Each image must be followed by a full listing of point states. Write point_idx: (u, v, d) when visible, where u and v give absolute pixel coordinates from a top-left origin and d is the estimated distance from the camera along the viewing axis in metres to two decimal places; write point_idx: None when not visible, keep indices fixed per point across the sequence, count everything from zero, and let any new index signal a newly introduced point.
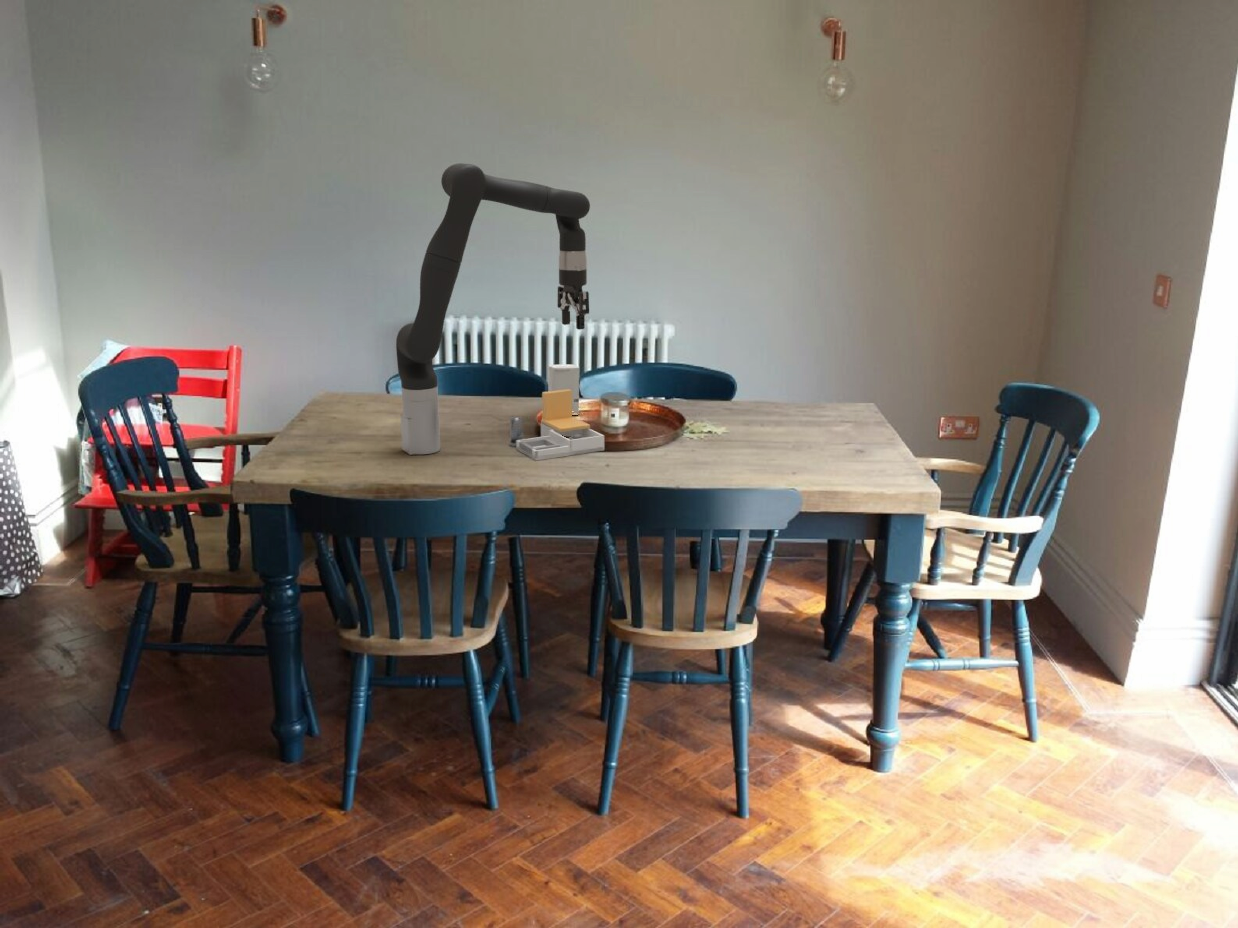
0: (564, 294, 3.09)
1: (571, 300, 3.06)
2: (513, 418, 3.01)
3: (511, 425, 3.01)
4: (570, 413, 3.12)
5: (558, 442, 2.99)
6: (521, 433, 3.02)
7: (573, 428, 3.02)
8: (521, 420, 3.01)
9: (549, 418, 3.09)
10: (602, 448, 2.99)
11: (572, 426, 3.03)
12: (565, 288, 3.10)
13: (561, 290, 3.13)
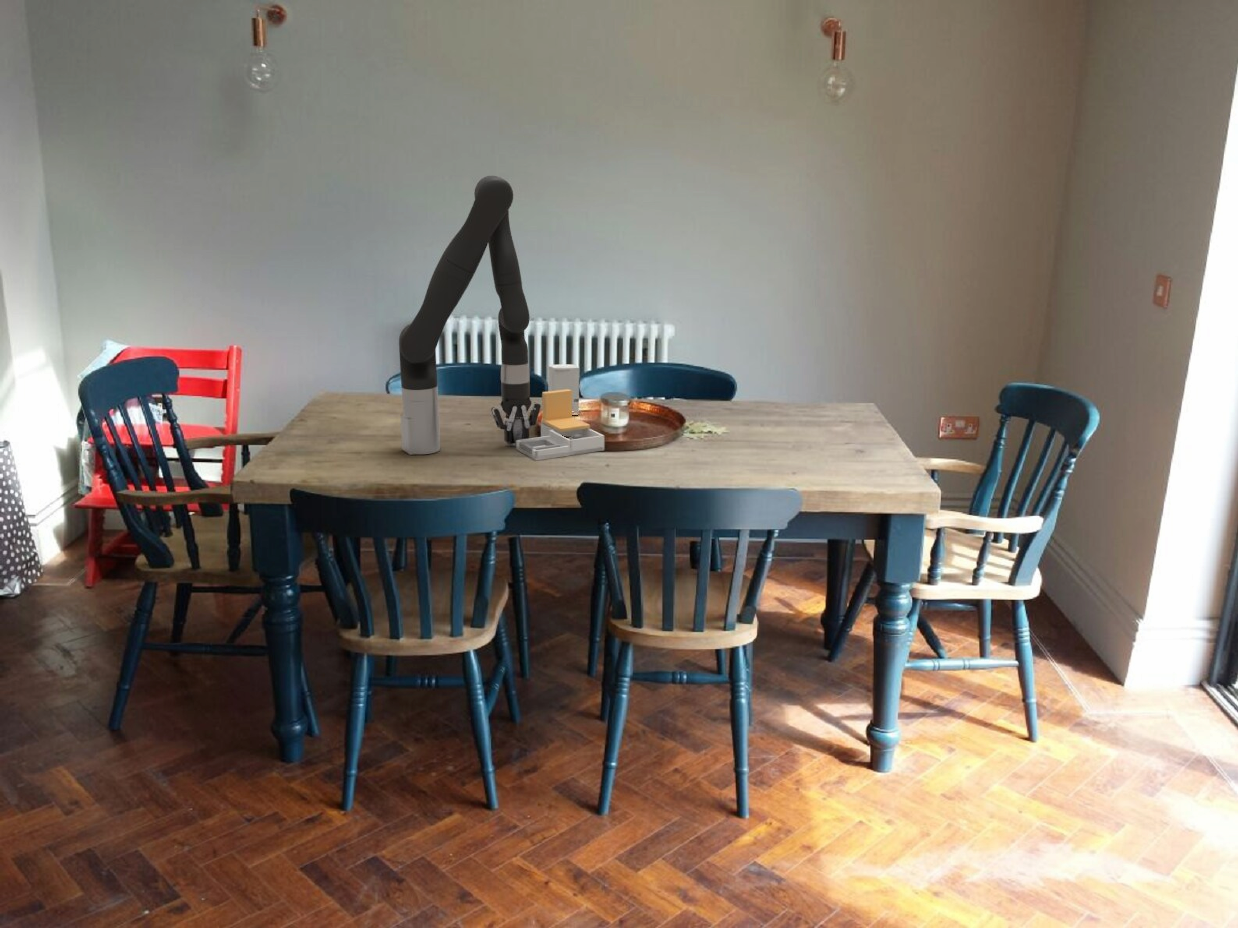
0: (514, 408, 2.99)
1: (525, 412, 3.01)
2: None
3: None
4: (570, 413, 3.12)
5: (558, 442, 2.99)
6: (521, 433, 3.02)
7: (573, 428, 3.02)
8: (521, 420, 3.01)
9: (549, 418, 3.09)
10: (602, 448, 2.99)
11: (572, 426, 3.03)
12: (508, 402, 2.98)
13: (498, 411, 2.98)
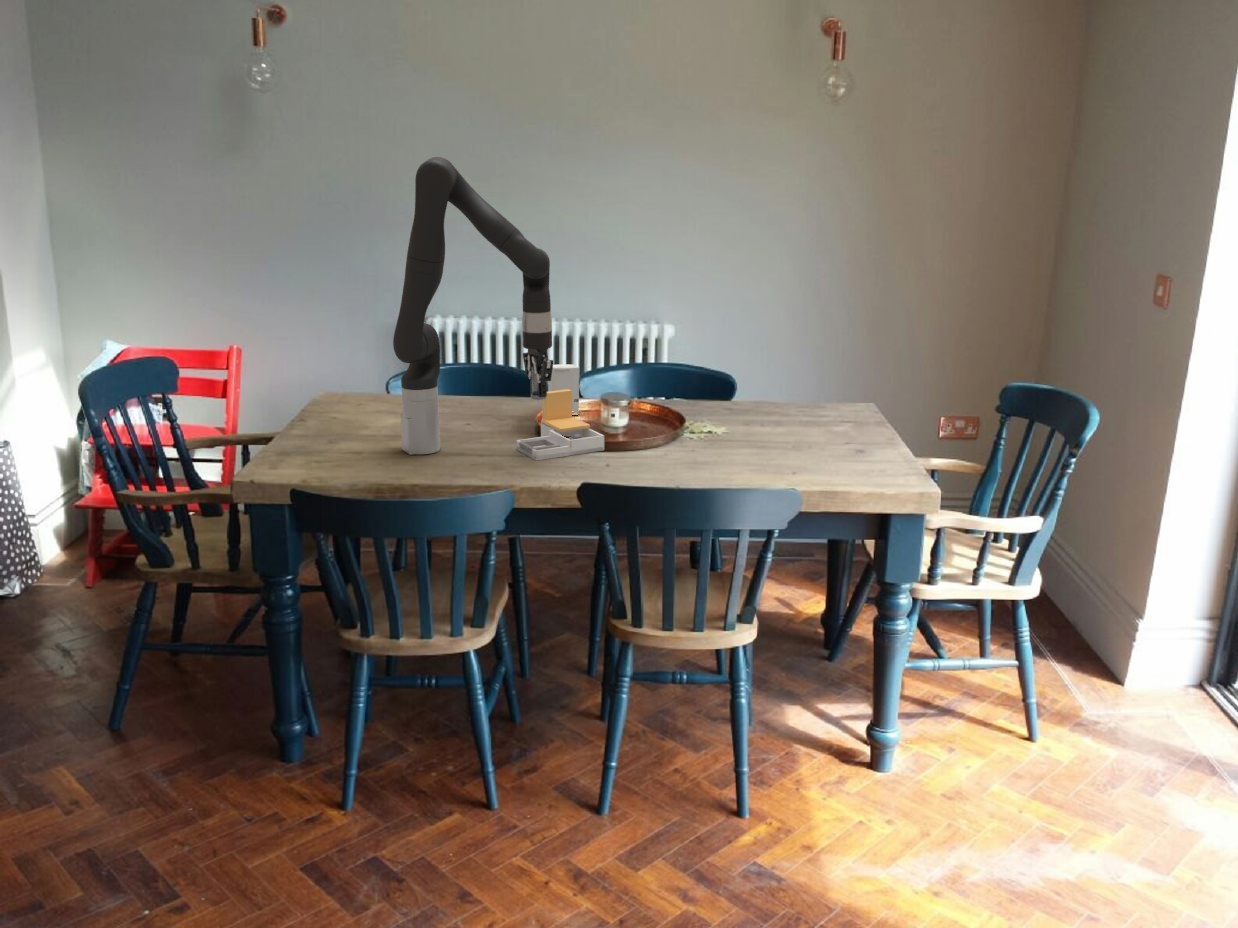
0: None
1: None
2: (540, 369, 2.89)
3: None
4: (570, 413, 3.12)
5: (558, 442, 2.99)
6: None
7: (573, 428, 3.02)
8: None
9: (549, 418, 3.09)
10: (602, 448, 2.99)
11: (572, 426, 3.03)
12: None
13: None
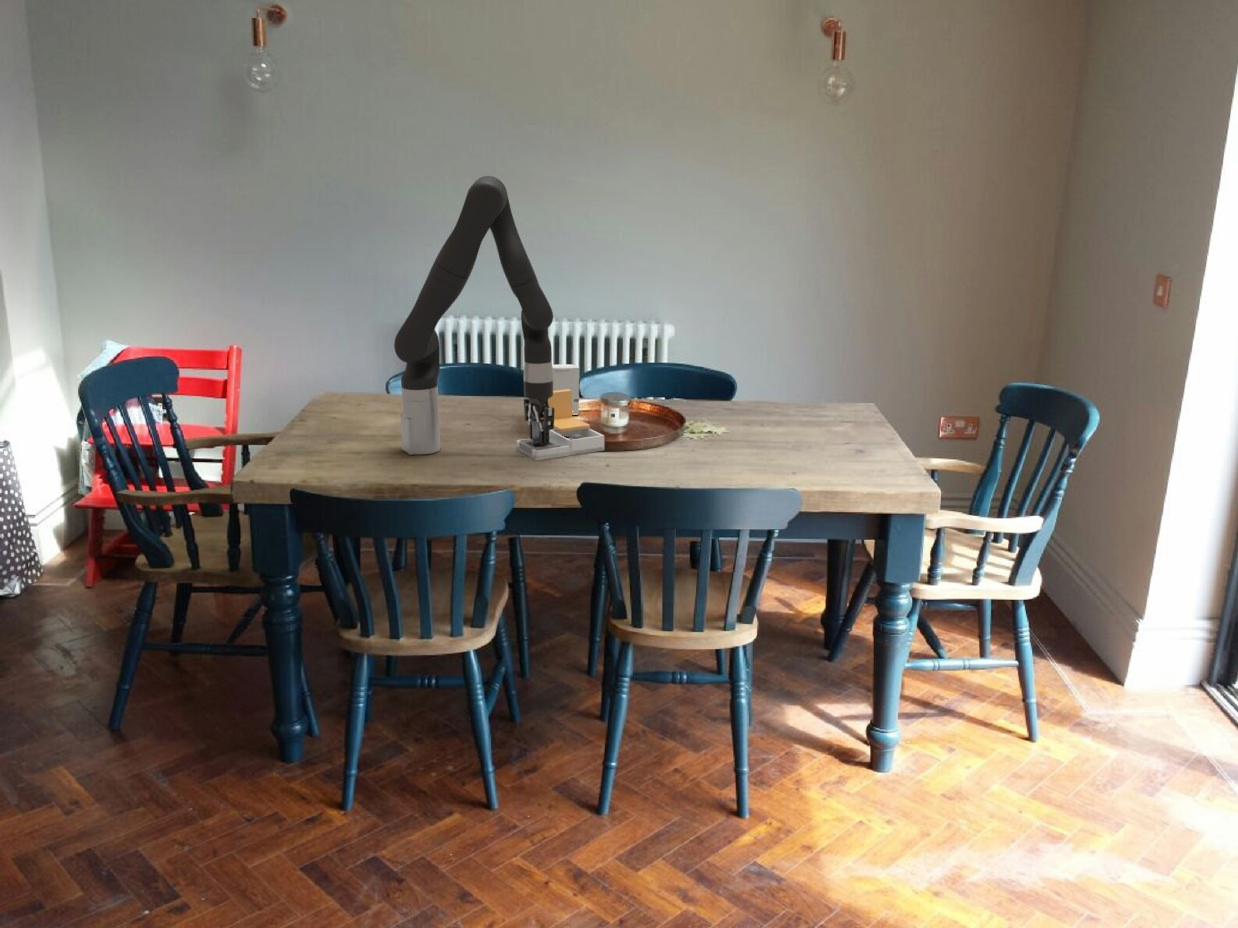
0: None
1: None
2: None
3: None
4: (570, 413, 3.12)
5: (558, 442, 2.99)
6: None
7: (573, 428, 3.02)
8: None
9: None
10: (602, 448, 2.99)
11: (572, 426, 3.03)
12: None
13: None
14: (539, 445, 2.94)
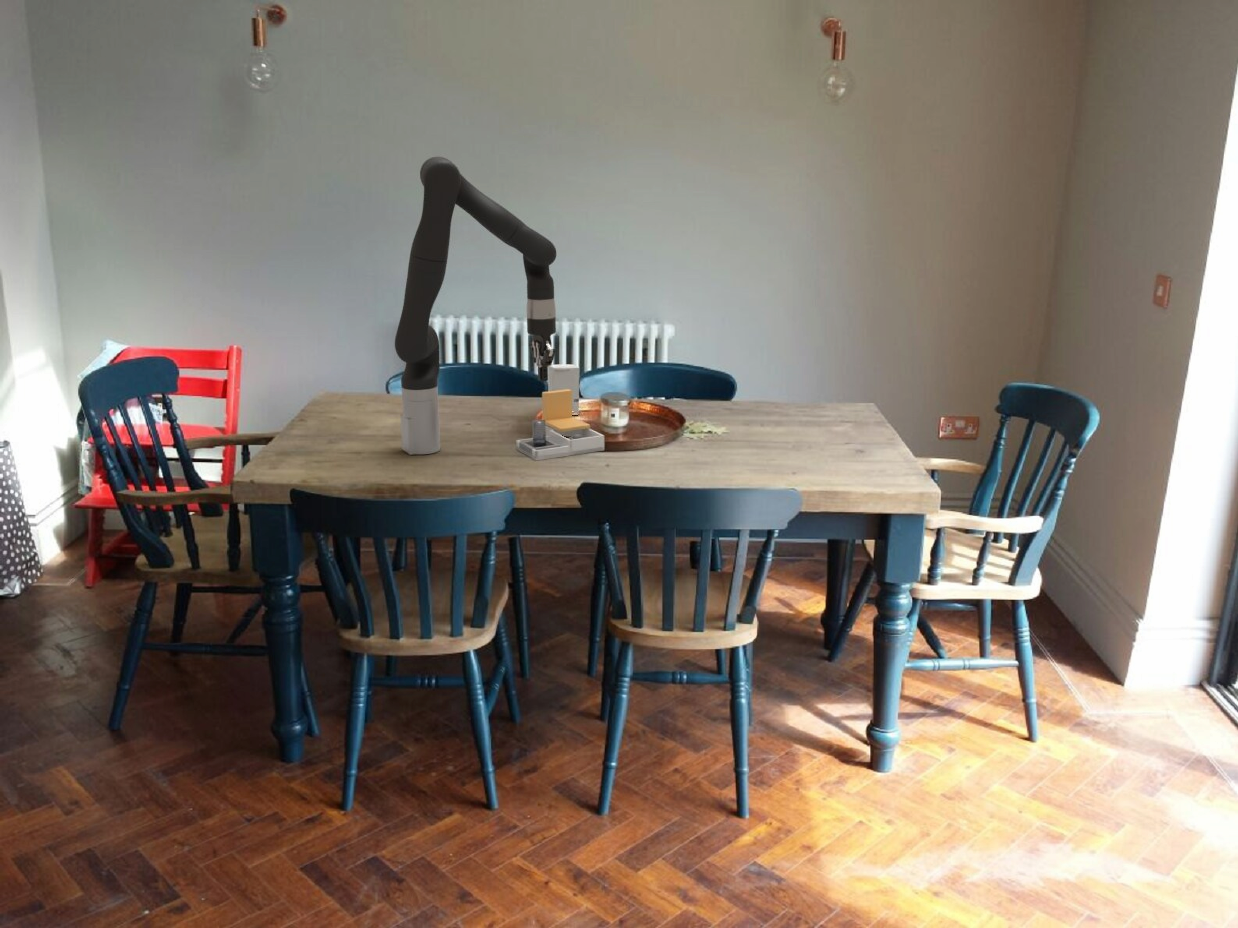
0: None
1: None
2: (541, 421, 2.94)
3: (543, 429, 2.94)
4: (570, 413, 3.12)
5: (558, 442, 2.99)
6: None
7: (573, 428, 3.02)
8: None
9: (549, 418, 3.09)
10: (602, 448, 2.99)
11: (572, 426, 3.03)
12: None
13: None
14: (539, 445, 2.94)
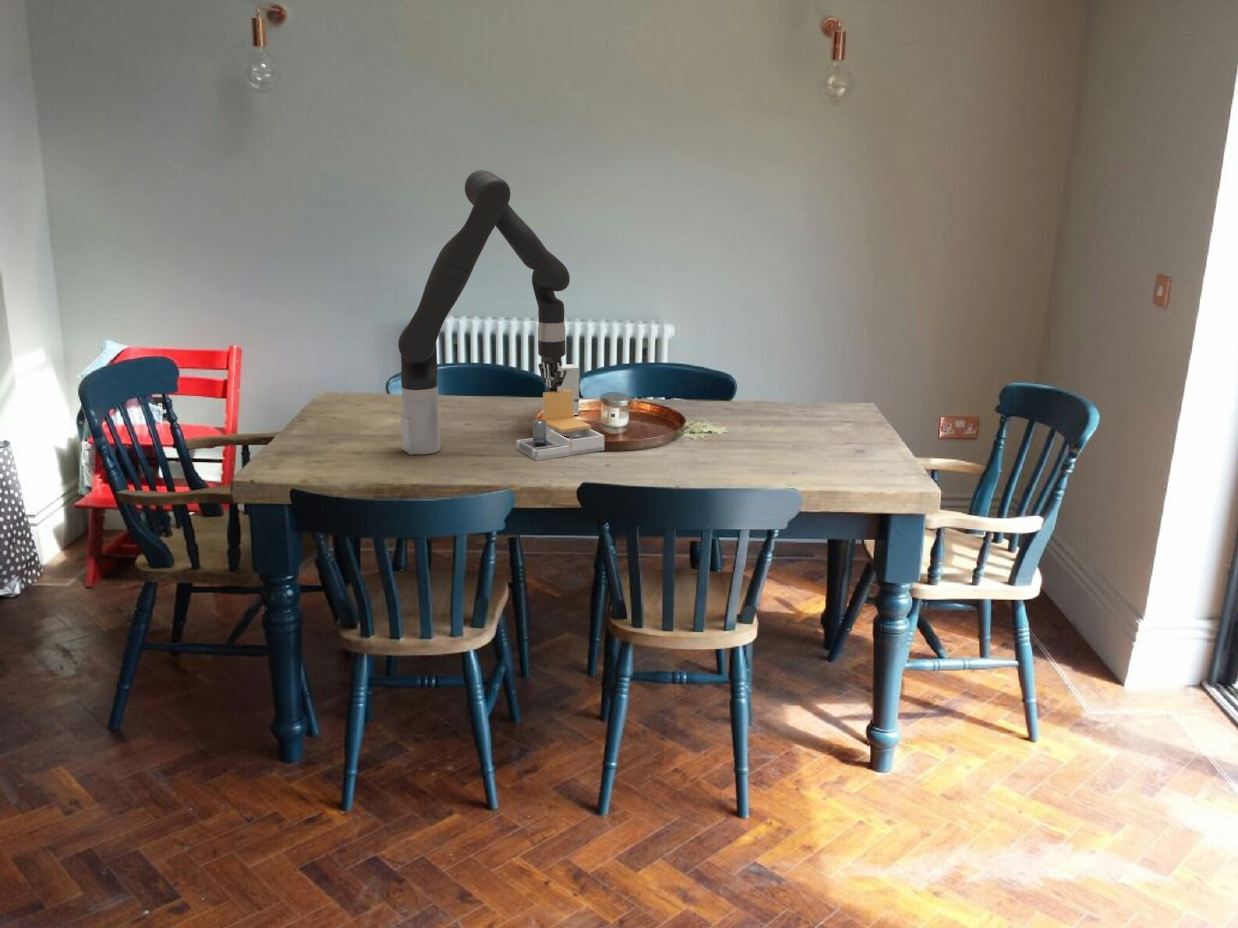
0: None
1: None
2: (541, 421, 2.94)
3: (543, 429, 2.93)
4: (571, 413, 3.12)
5: (558, 442, 2.99)
6: None
7: (574, 428, 3.02)
8: None
9: (550, 418, 3.09)
10: (602, 448, 2.99)
11: (573, 426, 3.02)
12: None
13: None
14: (539, 445, 2.94)
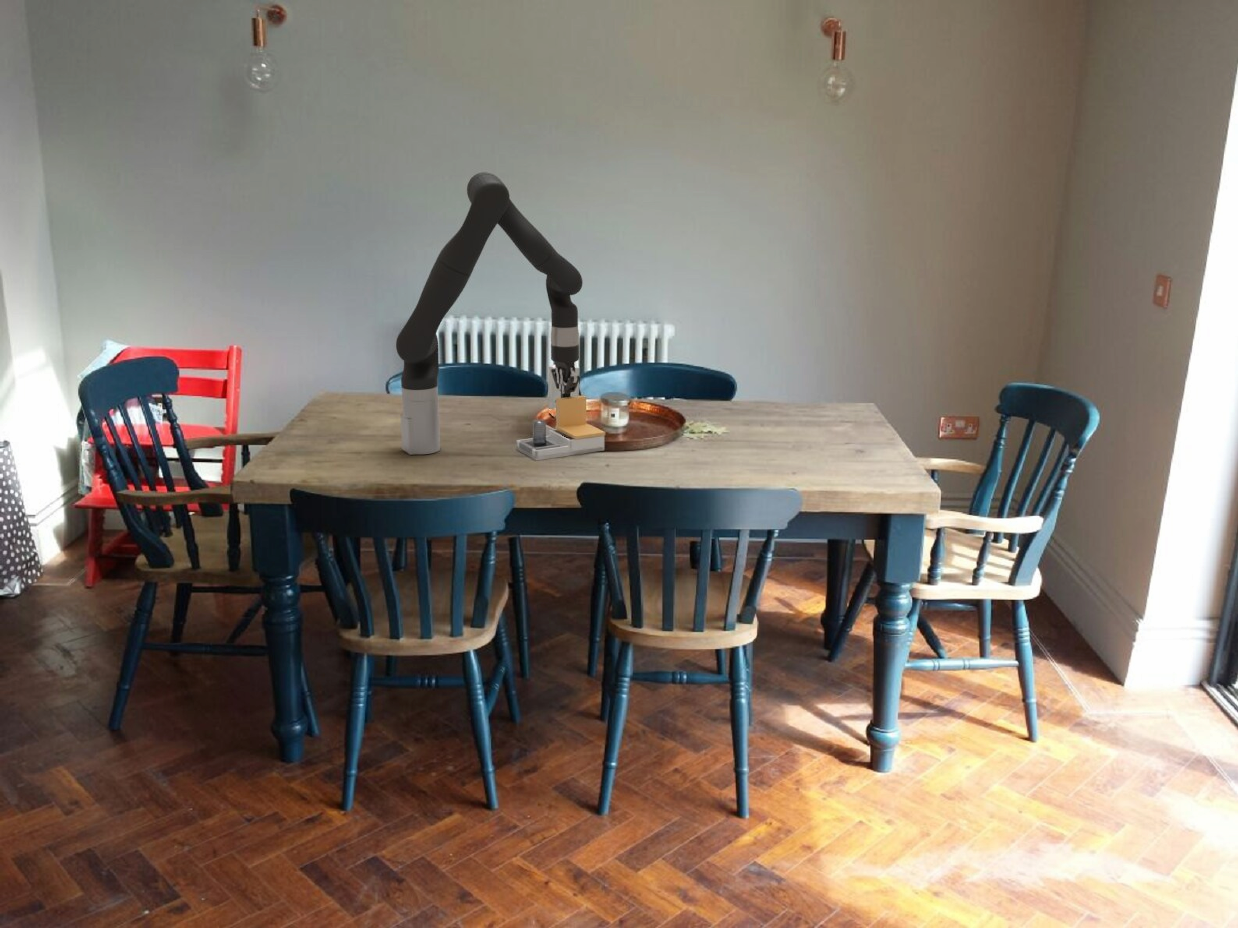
0: None
1: None
2: (541, 421, 2.94)
3: (543, 429, 2.94)
4: (584, 420, 3.05)
5: (558, 442, 2.99)
6: None
7: (588, 435, 2.95)
8: None
9: (563, 425, 3.02)
10: (602, 448, 2.99)
11: (587, 433, 2.95)
12: None
13: None
14: (539, 445, 2.94)
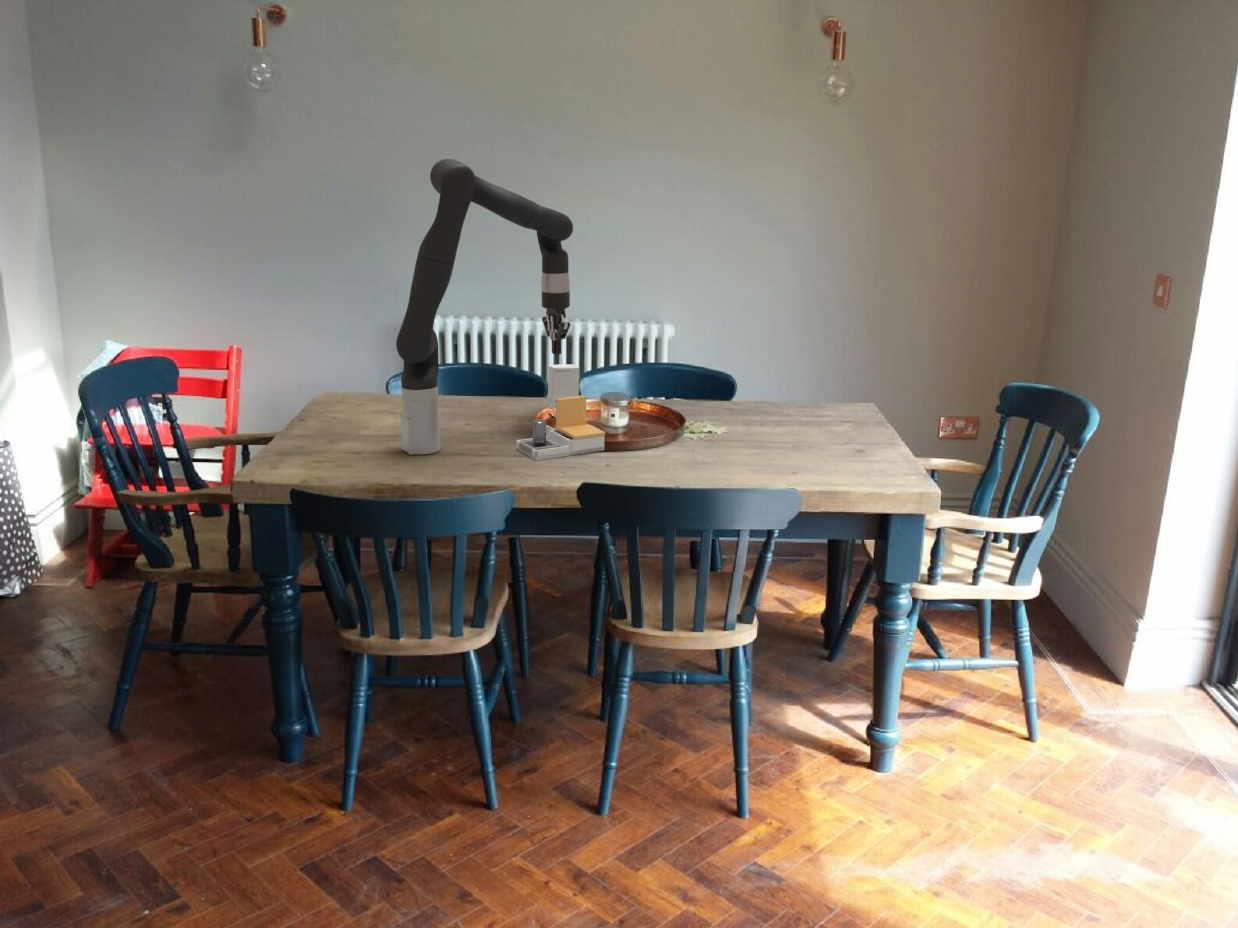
0: None
1: None
2: (541, 422, 2.93)
3: (543, 429, 2.93)
4: (584, 420, 3.05)
5: (558, 442, 2.99)
6: None
7: (588, 435, 2.95)
8: None
9: (563, 425, 3.02)
10: (602, 448, 2.99)
11: (587, 433, 2.95)
12: None
13: None
14: (539, 445, 2.94)
